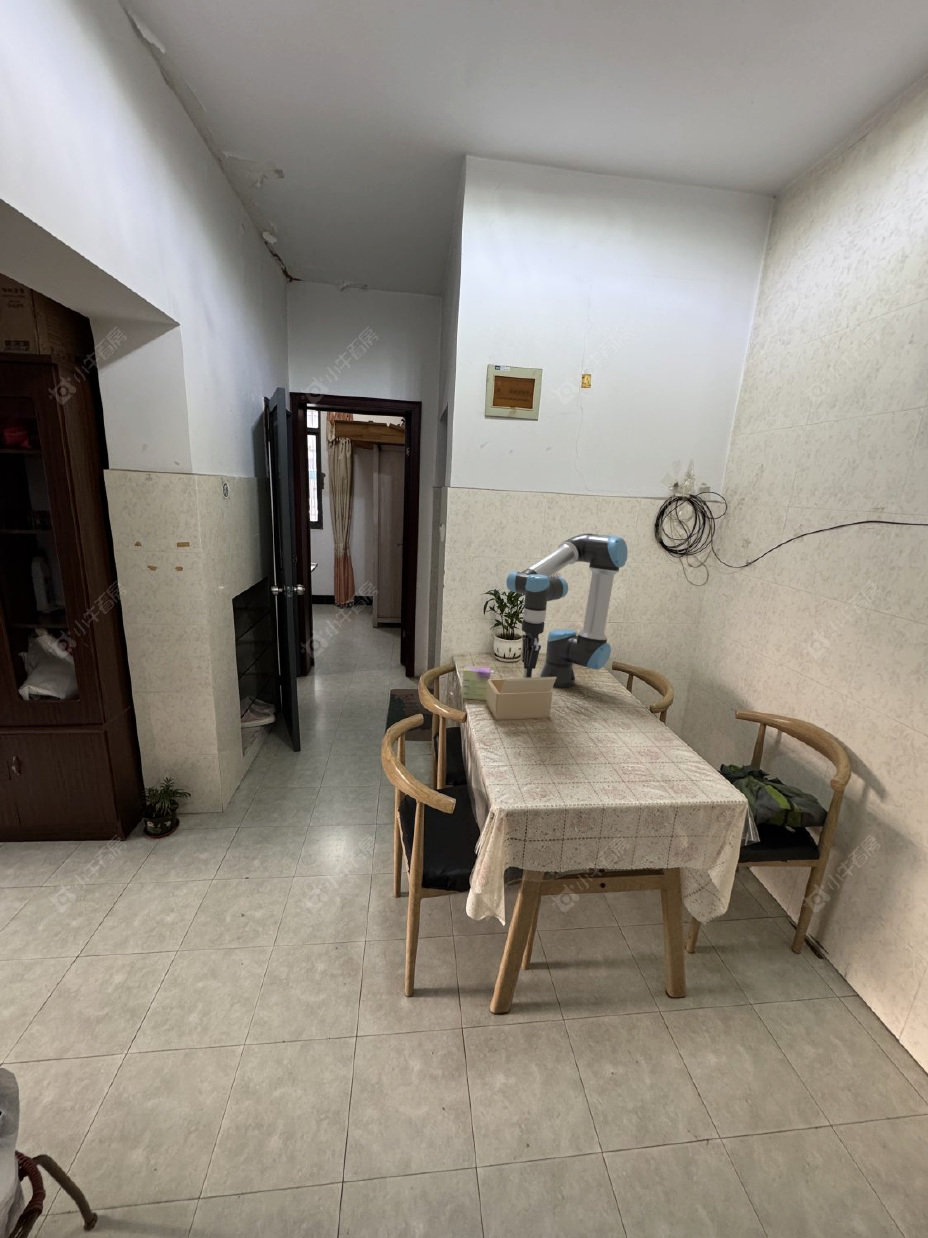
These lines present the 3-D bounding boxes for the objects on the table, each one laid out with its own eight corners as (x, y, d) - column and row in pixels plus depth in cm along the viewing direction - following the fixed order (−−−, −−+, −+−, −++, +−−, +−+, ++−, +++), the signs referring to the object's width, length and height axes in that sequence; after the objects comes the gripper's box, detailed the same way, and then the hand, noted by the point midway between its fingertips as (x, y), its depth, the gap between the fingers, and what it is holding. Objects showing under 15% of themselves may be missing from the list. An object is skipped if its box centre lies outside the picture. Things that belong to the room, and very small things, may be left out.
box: (488, 695, 201) (490, 667, 198) (488, 701, 195) (489, 672, 192) (463, 693, 201) (464, 665, 198) (461, 698, 196) (463, 670, 193)
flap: (556, 676, 175) (556, 677, 174) (550, 690, 180) (550, 691, 180) (505, 678, 171) (505, 679, 170) (500, 692, 176) (501, 693, 176)
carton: (537, 701, 197) (539, 677, 194) (550, 717, 183) (553, 692, 181) (485, 703, 192) (486, 679, 190) (495, 720, 179) (496, 694, 176)
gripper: (517, 615, 175) (511, 677, 181) (529, 625, 163) (521, 692, 169) (537, 615, 177) (530, 677, 183) (550, 625, 165) (542, 691, 171)
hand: (526, 684), depth 176 cm, fingers closed
